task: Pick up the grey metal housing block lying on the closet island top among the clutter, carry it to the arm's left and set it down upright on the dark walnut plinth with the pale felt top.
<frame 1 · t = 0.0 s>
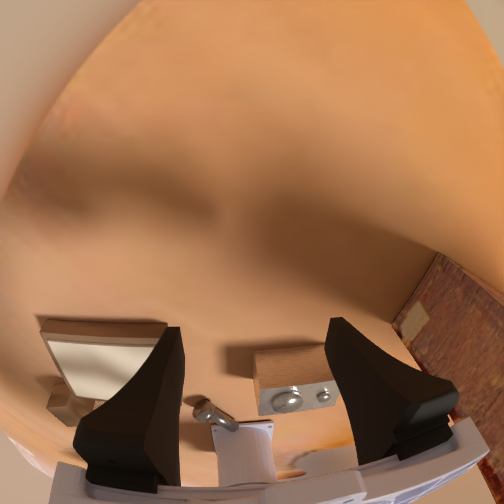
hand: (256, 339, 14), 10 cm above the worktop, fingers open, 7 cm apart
book: (466, 311, 30), on the worktop
loose bolt: (220, 413, 32), on the worktop, touching arm
stand: (114, 360, 27), on the worktop
housing: (290, 361, 29), on the worktop
walnut block: (74, 392, 29), on the worktop
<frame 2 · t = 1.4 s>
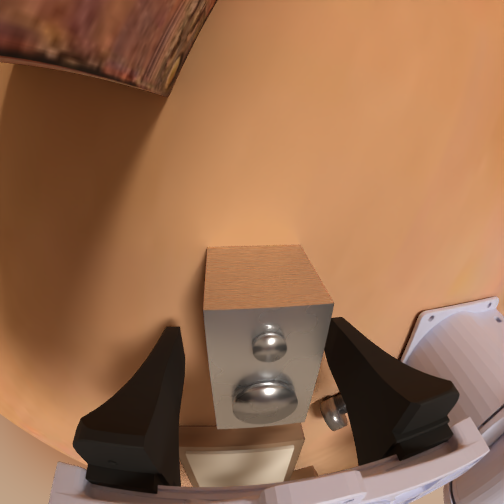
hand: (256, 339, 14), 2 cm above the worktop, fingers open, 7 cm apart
loose bolt: (364, 383, 20), on the worktop, touching arm
stand: (239, 456, 23), on the worktop
housing: (252, 310, 16), on the worktop
walnut block: (298, 474, 28), on the worktop
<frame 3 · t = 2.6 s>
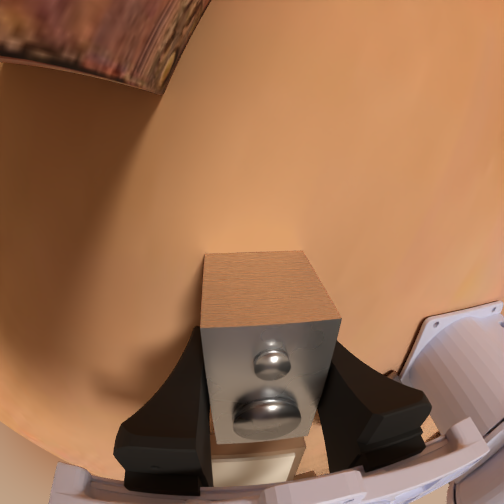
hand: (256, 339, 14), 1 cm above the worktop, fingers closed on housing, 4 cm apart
stand: (238, 463, 23), on the worktop
housing: (253, 319, 15), on the worktop, touching gripper
walnut block: (299, 478, 27), on the worktop
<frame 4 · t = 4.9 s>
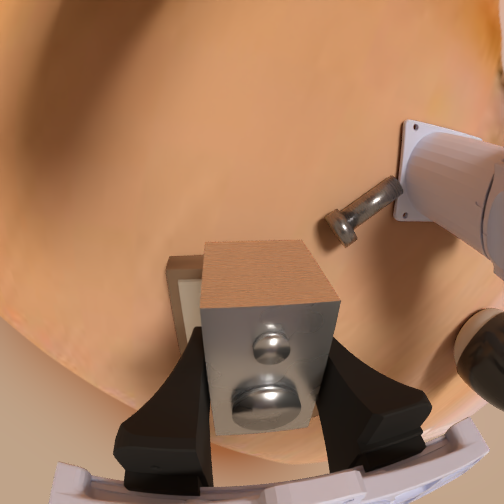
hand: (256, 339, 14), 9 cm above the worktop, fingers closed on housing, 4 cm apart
loose bolt: (367, 200, 21), on the worktop, tilted 7°, touching arm
stand: (239, 323, 24), on the worktop
housing: (252, 310, 15), point 7 cm above the worktop, touching gripper
pump dispenser: (470, 328, 30), on the worktop
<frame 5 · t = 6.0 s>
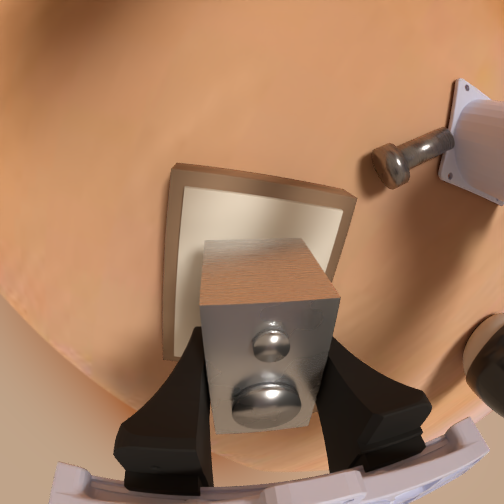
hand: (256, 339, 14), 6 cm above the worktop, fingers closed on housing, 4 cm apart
loose bolt: (415, 148, 17), on the worktop, tilted 7°, touching arm
stand: (245, 274, 19), on the worktop
housing: (252, 308, 15), point 4 cm above the worktop, touching gripper
pump dispenser: (480, 334, 27), on the worktop
when the fingers open (4 cm above the worktop, at t = 7.2 s): housing stays where it is, resting on stand.
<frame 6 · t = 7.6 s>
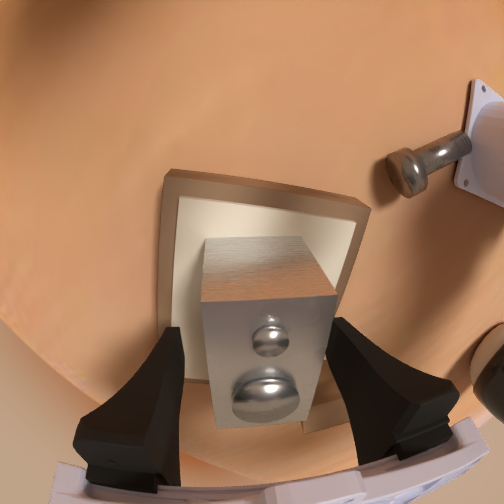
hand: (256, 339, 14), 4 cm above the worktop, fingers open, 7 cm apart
loose bolt: (430, 153, 15), on the worktop, tilted 7°, touching arm
stand: (247, 289, 18), on the worktop
housing: (252, 304, 15), point 2 cm above the worktop, touching stand
walnut block: (316, 377, 22), on the worktop
pump dispenser: (487, 343, 25), on the worktop
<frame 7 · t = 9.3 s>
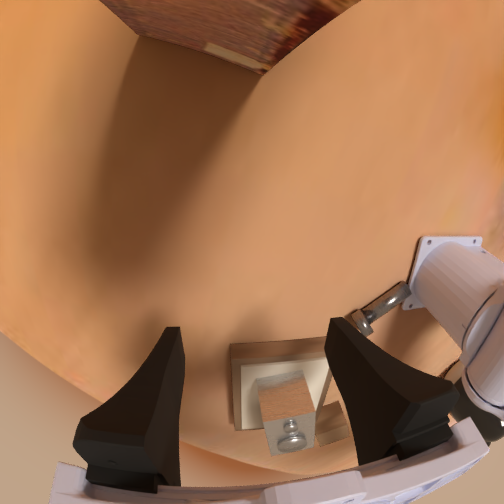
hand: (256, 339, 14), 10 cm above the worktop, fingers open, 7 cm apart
loose bolt: (383, 298, 26), on the worktop, tilted 7°, touching arm
stand: (278, 383, 30), on the worktop
housing: (282, 396, 28), point 2 cm above the worktop, touching stand
walnut block: (325, 412, 34), on the worktop
pump dispenser: (457, 368, 36), on the worktop
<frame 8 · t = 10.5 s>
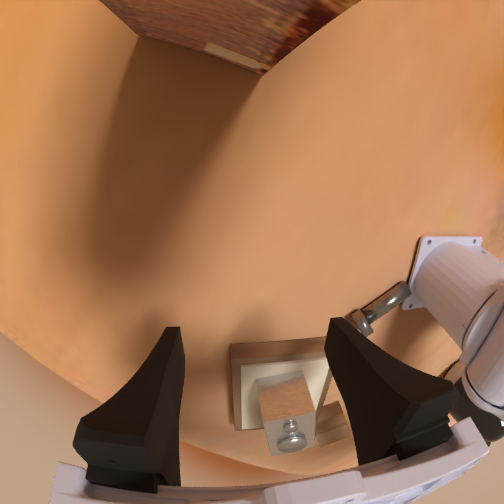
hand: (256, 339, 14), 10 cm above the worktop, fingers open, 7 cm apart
loose bolt: (383, 298, 26), on the worktop, tilted 7°, touching arm
stand: (278, 383, 30), on the worktop
housing: (282, 396, 28), point 2 cm above the worktop, touching stand
walnut block: (325, 412, 34), on the worktop
pump dispenser: (457, 368, 36), on the worktop
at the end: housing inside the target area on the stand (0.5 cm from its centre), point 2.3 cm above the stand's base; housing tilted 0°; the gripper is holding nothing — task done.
